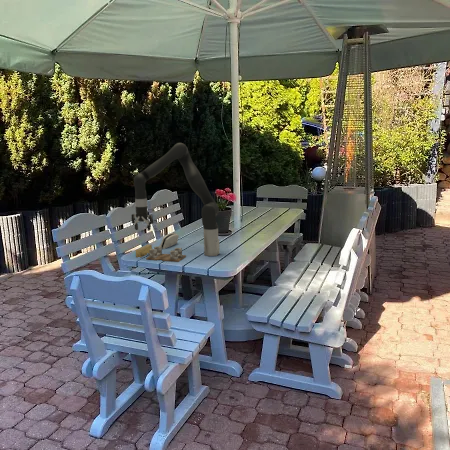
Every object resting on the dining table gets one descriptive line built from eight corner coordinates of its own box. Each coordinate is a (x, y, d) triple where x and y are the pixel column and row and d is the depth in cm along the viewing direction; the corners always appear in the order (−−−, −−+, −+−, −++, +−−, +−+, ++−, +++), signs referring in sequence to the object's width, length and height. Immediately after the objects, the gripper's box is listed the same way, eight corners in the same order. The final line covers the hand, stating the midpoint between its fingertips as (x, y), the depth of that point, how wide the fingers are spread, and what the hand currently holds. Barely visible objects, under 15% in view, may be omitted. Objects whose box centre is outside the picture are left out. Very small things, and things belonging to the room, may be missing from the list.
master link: (148, 251, 306) (147, 244, 305) (152, 251, 305) (151, 244, 304) (136, 257, 292) (135, 250, 291) (140, 257, 291) (139, 250, 290)
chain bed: (186, 256, 291) (185, 247, 289) (178, 262, 279) (178, 252, 278) (154, 254, 297) (154, 245, 296) (146, 259, 286) (145, 250, 285)
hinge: (171, 242, 328) (174, 230, 324) (176, 245, 326) (180, 232, 322) (157, 248, 313) (161, 235, 310) (163, 251, 311) (166, 238, 308)
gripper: (154, 204, 293) (155, 229, 296) (134, 204, 297) (135, 228, 301) (148, 206, 286) (150, 232, 289) (128, 206, 290) (130, 231, 294)
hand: (142, 230), depth 295 cm, fingers open, 8 cm apart
